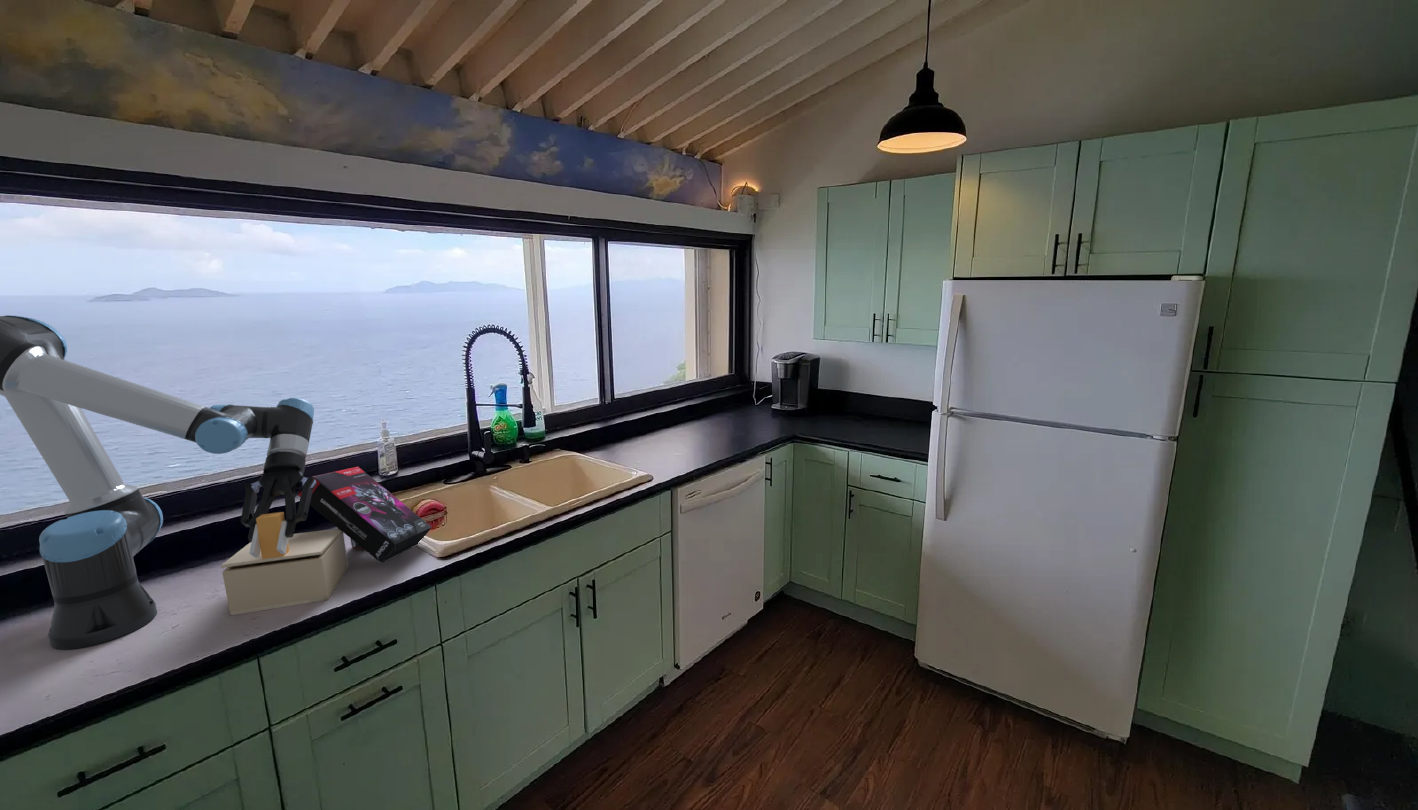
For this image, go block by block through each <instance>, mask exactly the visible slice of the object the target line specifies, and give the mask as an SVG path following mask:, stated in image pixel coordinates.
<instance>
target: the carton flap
mask: <svg viewBox="0 0 1418 810" xmlns="http://www.w3.org/2000/svg"><path fill="white" fill-rule="evenodd" d="M285 517H286V515H285V512H284V511H278V512H271V513H270V512H268V513H267V514H262V515H260V516H259V517H258V518H256V522H257V529H258V535H259V542H260V549H261V550H260V555H259V557H257V558H255V557H253V556H252V555H251V554H250V553H249V552H250V547H251V543H252V542H251V541H249V543H248V544H246V545H245V546H244V547H243V548H241V549H240V550H238V551H237V552H236V553H235V554H233V555H232V556H231V557H230V558H228V559H227V560H226V561H224V562H223V563H221V564H220V569H221V568H222V569H223V568H227V567H231V566H239V565H246V564H253V563H261V562H268V561H275V560H283V559H290V558H297V557H305V556H312V555H320V554H322V553H323V552H324V551H325V550H326V548H327V547H328V546H329V545H330V544H331V543H332V542H333V541H334V540H335V538H336V537H337V536H338V535H339V534H340V533H341V532H342V531H341V530H340V529H339V528H332V529H324V530H323V529H322V530H315V531H309V532H308V531H307V532H299V533H294V535H293V537H290V538H288V543H287V549H286V554H281V553H280V552H278V551H277V544H278V539H279V534H280V529H281V523H282V521H286V518H285Z"/></svg>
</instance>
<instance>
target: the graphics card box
mask: <svg viewBox="0 0 1418 810" xmlns="http://www.w3.org/2000/svg"><path fill="white" fill-rule="evenodd" d="M312 477H313V478H314V479H315V481H316V482H317V485H316V486H315V488H314V489H313V491H312V496H311V501H310V506H311V507H312V508H313V509H314V510H316V511H317V513H319V514H320V515H322V516H323V517H324V518H325V519H327V520H328V521H329V522H330V523H331V524H332V525H334V526H335V528H336V529H338V528H339V529H340V530H341V531H342V532H343V534H345V535H346V536H347V537H349V538H351V539H352V540H353V541H354V542H356V543H357V544H358V545H359V546H361V547H362V548H363V549H364V550H363V551H365V552H367V554H369V555H370V556H371V557H372V558H374V559H375V560H376V561H377V562H378V563H380V564H382V563H385V562H387V561H389V560H390V559H392V558H394V557H396V556H398V555H400V554H403V553H404V552H405V551H407V550H410V549H412V548H414V547H415V546H417V545H419V544H418V542H419V541H420V540H421V539H422V538H423V539H424V538H425V537H424V536H427V534H428V533H429V532H430V530H431V529H432V526H431V525H430V524H429V523H428V522H426V521H425V520H424V519H423V518H421V517H420V516H419V515H418V514H417V513H416V512H414V511H413V510H412V509H410V508H409V506H407V505H406V504H405V503H403V502H402V501H401V500H400V499H398V497H396V496H395V495H394V494H392V493H391V492H390V491H389V490H387V489H386V488H385V487H384V486H382V484H380V483H379V482H378V481H376V480H375V479H374V478H372V477H371V476H370V475H369V474H368V473H366V471H364V470H363V469H362V468H360V466H355V467H350V468H345V469H341V470H336V471H332V472H327V473H323V474H319V475H313V476H312ZM302 488H303V485H302V486H301V488H299V490H298V491H297V494H296V495H298V497H299V498H300V497H301V492H302ZM351 539H350V540H351ZM423 539H422V540H423Z"/></svg>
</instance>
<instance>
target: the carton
mask: <svg viewBox="0 0 1418 810" xmlns="http://www.w3.org/2000/svg"><path fill="white" fill-rule="evenodd" d="M346 551H347V549H346V543H345V537H344V533H343V532H341V533H340V534H339V535H338V536H337V537H336V538H335V540H334V541H333V542H332V543H331V544H330V545H329V546H328V547H327V548H326V550H325V551H324V552H323V553H322V554H320V555H312V556H305V557H297V558H290V559H283V560H275V561H268V562H261V563H253V564H246V565H239V566H231V567H225V569H224V570H223V571H222V572H221V574H222V578H223V584H224V589H225V594H226V598H227V604H228V609H229V614H230V616H235V615H241V614H248V613H253V612H260V611H266V610H273V609H279V608H287V607H292V606H298V605H303V604H304V605H306V604H310V603H311V604H312V603H317V602H323V601H329V600H330V597H332V596H333V593H334V592H335V590H336V589H337V587H338V585H339V584H340V582H341V580H342V579H343V578H344V576H345V574H346V573H347V571H348V569H349V563H348V557H347V556H348V555H347V552H346Z"/></svg>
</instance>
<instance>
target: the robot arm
mask: <svg viewBox="0 0 1418 810" xmlns="http://www.w3.org/2000/svg"><path fill="white" fill-rule="evenodd" d="M67 353H68V345H67V341H66V338H64V336H63V334H61V333H60V331H58V330H57V329H56V328H55V327H53V326H52V325H50V324H49V323H46V322H44V321H41V320H39V319H36V318H32V317H27V316H26V317H25V316H21V315H19V316H18V315H9V314H7V315H0V396H2V397H4V398H5V399H6V400H7V402H8V404H9V405H10V407H11V408H12V411H13V412H14V413H15V414H16V417H17V418H18V420H19V422H20V423H21V425H22V427H23V429H24V430H25V431H26V433H27V434H28V437H29V438H30V440H31V441H32V442H33V444H34V446H35V448H36V449H37V451H38V453H39V454H40V455H41V457H42V459H43V461H44V462H45V464H46V466H47V467H48V469H49V470H50V472H51V473H52V475H53V477H54V479H56V482H57V483H58V485H59V487H60V488H61V489H62V491H63V493H64V495H65V496H66V499H68V502H69V504H68V505H67V507H66V508H65V510H64V511H63V512H64V515H65V516H66V518H65V519H60V520H58V521H55V522H53V523H52V524H50V525H48V526H47V527H46V528H45V529H43V530H42V532H41V533H40V534H39V538H38V542H39V551H38V552H39V554H40V556H41V557H42V561H43V565H44V570H45V572H46V576H47V579H48V583H49V588H50V591H51V595H52V598H53V601H54V603H53V604H54V608H53V614H52V618H51V625H50V628H49V630H48V632H47V636H48V640H49V643H50V647H52V648H53V649H57V650H73V649H74V650H75V649H80V648H85V647H91V646H95V645H97V644H101V643H106V642H108V641H112V640H114V639H117V638H120V637H123V636H125V635H128V634H131V633H132V632H134V631H137V630H138V629H140V628H142V627H144V626H145V625H147V624H149V623H150V622H151V621H152V620H154V619H155V617H156V616H157V614H158V610H157V605H156V602H155V600H154V599H153V598H152V597H151V596H150V593H148V592H147V590H146V589H145V588H144V587H143V586H142V584H141V583H140V582H139V580H138V579H139V578H138V574H137V569H136V564H135V561H134V556H136V554H138V553H139V552H140V551H141V550H142V549H144V547H146V546H147V545H149V544H150V543H151V542H153V540H154V539H155V538H156V537H157V535H158V533H159V532H160V531H161V528H162V526H163V523H164V516H163V511H162V509H161V508H160V506H159V505H158V503H156V502H155V501H154V500H152V499H150V498H146V497H144V496H143V495H142V493H141V492H140V490H139V488H138V487H137V486H135V485H131V484H129V483H125V482H124V480H123V478H122V477H121V475H120V474H119V471H118V470H117V469H116V466H115V465H114V463H113V462H112V460H111V458H110V457H109V454H108V453H107V451H106V450H105V448H104V446H103V443H101V442H102V441H100V439H99V438H98V436H97V434H96V432H95V431H94V429H93V427H92V425H91V424H90V422H89V420H88V418H87V416H86V415H85V413H84V412H83V410H87V411H90V412H93V413H96V414H99V415H103V416H106V417H109V418H113V419H116V420H120V421H123V422H126V423H129V424H133V425H136V426H140V427H143V428H147V429H150V430H153V431H157V432H159V433H162V434H163V433H164V434H165V435H169V436H173V437H177V438H180V439H183V440H186V441H190V442H192V443H195V444H196V445H198V447H199V448H200V449H202V450H203V451H204V452H206V453H209V454H215V455H222V454H227V453H230V452H232V451H234V450H236V449H238V448H240V447H241V446H242V445H243V444H244V443H246V441H247V440H249V439H269V444H268V447H267V448H268V449H267V452H266V457H265V462H264V466H263V471H262V475H261V477H260V478H259V479H258V480H257V481H256V482H253V483H251V482H246V483H244V484H243V487H244V491H245V495H244V500H243V506H242V511H241V517H240V523H241V524H242V525H243V526H245V528H249V530H248V531H249V532H248V536H247V539H248V541H249V542H252V543H251V547H250V552H249V553H250V554H251V555H252V556H253V557H255V558H257V557H259V555H260V550H261V549H260V542H259V535H258V529H257V522H256V518H258V517H259V516H260V515H262V514H269V510H270V508H271V506H272V505H273V502H275V501H276V498H277V497H278V496H284V502H285V503H284V506H285V521H282V523H281V529H280V534H279V539H278V544H277V551H278V552H280V553H281V554H286V549H287V543H288V538H290V537H293V535H294V534H295V530H296V524H297V523H300V522H304V521H306V520H307V519H308V515H309V509H310V506H311V505H310V501H311V496H312V491H313V489H314V488H315V486H316V485H317V482H316V481H315V479H314V478H313V476H308V477H305V475H304V473H305V469H306V462H307V460H306V459H307V456H308V451H309V445H310V439H311V435H312V428H313V425H314V413H315V408H314V406H313V404H312V403H310V402H309V401H308V400H306V399H303V398H298V397H289V398H283V399H281V400H280V401H279V402H278V403H277V405H276V406H270V407H269V406H267V407H266V406H251V405H235V404H232V403H231V404H215V405H212V406H210V407H206V406H204V405H202V404H198V403H196V402H192V401H189V400H186V399H183V398H179V397H177V396H174V395H171V394H169V393H165V392H162V391H159V390H156V389H153V388H150V387H148V386H144V385H141V384H137V383H135V382H132V381H129V380H125V379H122V378H119V377H117V376H114V375H110V374H107V373H104V372H101V371H98V370H95V369H92V368H89V367H87V366H83V365H80V364H76V363H74V362H71V361H68V360H65V358H66V356H67ZM301 485H302V486H303V488H302V492H301V497H300V496H299V502H298V506H296V490H297V489H298V488H299V487H300V486H301ZM261 487H262V489H263V491H262V496H261V498H260V501H259V502H258V504H257V499H258V495H257V494H258V493H259V491H260V488H261ZM256 505H257V507H256ZM296 508H297V509H296Z"/></svg>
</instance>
